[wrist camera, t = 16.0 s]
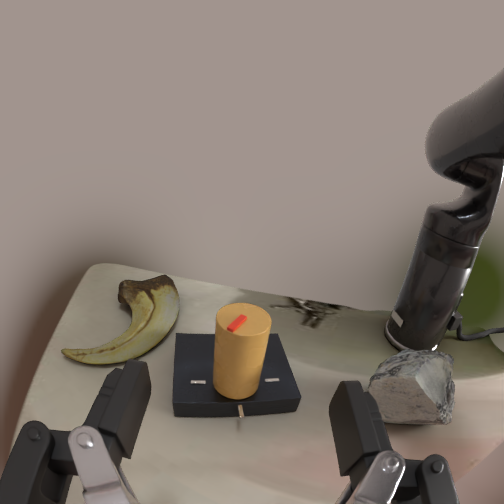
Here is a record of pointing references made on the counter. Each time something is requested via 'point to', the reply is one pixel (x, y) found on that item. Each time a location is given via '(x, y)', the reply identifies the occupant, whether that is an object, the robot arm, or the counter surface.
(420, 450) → the counter surface
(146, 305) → the claw
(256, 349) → the tan cylinder
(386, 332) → the robot arm
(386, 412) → the stone
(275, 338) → the panel
